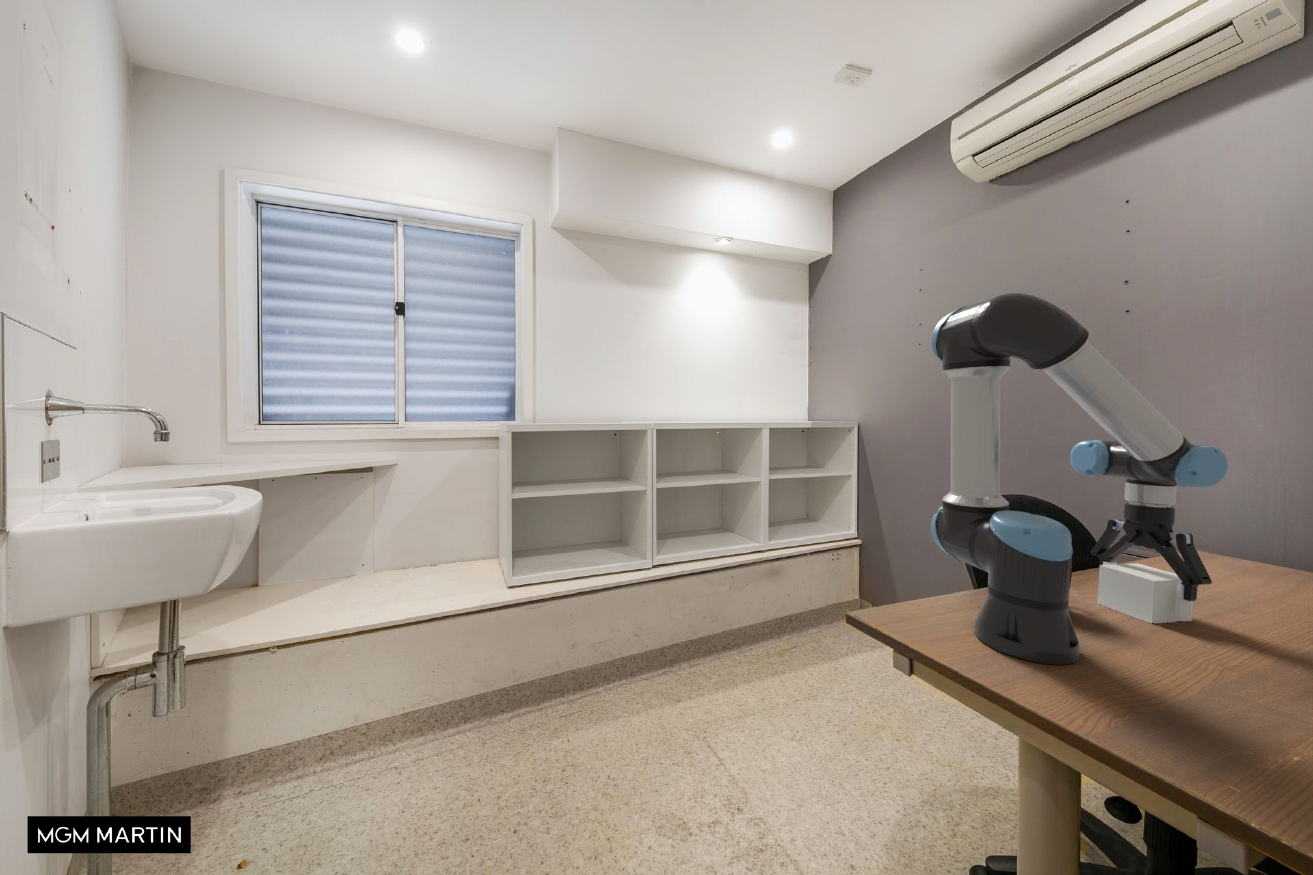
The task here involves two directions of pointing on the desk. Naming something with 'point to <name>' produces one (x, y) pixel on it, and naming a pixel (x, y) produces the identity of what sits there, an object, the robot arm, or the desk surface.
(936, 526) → the robot arm
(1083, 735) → the desk surface
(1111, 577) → the white rectangular brick
